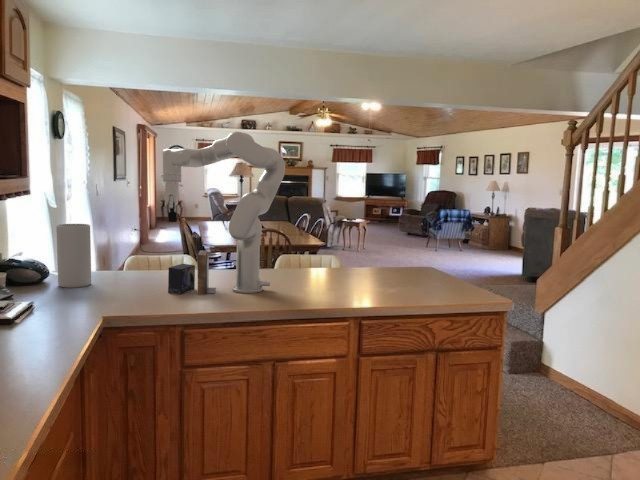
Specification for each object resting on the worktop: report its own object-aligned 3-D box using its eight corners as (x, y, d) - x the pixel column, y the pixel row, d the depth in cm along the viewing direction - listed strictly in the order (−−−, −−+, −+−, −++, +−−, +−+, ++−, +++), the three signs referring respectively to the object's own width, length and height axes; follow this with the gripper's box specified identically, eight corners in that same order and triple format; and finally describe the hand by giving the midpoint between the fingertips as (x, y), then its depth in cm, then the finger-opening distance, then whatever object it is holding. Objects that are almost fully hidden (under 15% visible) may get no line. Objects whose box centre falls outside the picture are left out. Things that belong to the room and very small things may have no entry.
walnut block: (207, 288, 214) (207, 250, 212) (205, 294, 202) (205, 255, 200) (199, 288, 213) (200, 250, 211) (197, 294, 201) (197, 255, 199)
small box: (181, 294, 201) (181, 268, 199) (167, 293, 203) (167, 267, 201) (195, 289, 211) (195, 264, 210) (181, 287, 213) (181, 263, 211)
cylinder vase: (78, 289, 204) (76, 227, 201) (51, 286, 206) (49, 225, 203) (97, 283, 216) (96, 224, 213) (71, 280, 218) (70, 223, 215)
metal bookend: (215, 288, 214) (216, 255, 212) (214, 294, 203) (214, 259, 201) (207, 288, 213) (207, 255, 211) (205, 294, 202) (205, 259, 201)
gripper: (164, 178, 222) (165, 220, 224) (161, 178, 207) (161, 223, 210) (182, 178, 223) (182, 220, 226) (180, 179, 209) (180, 223, 211)
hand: (172, 221), depth 218 cm, fingers closed
